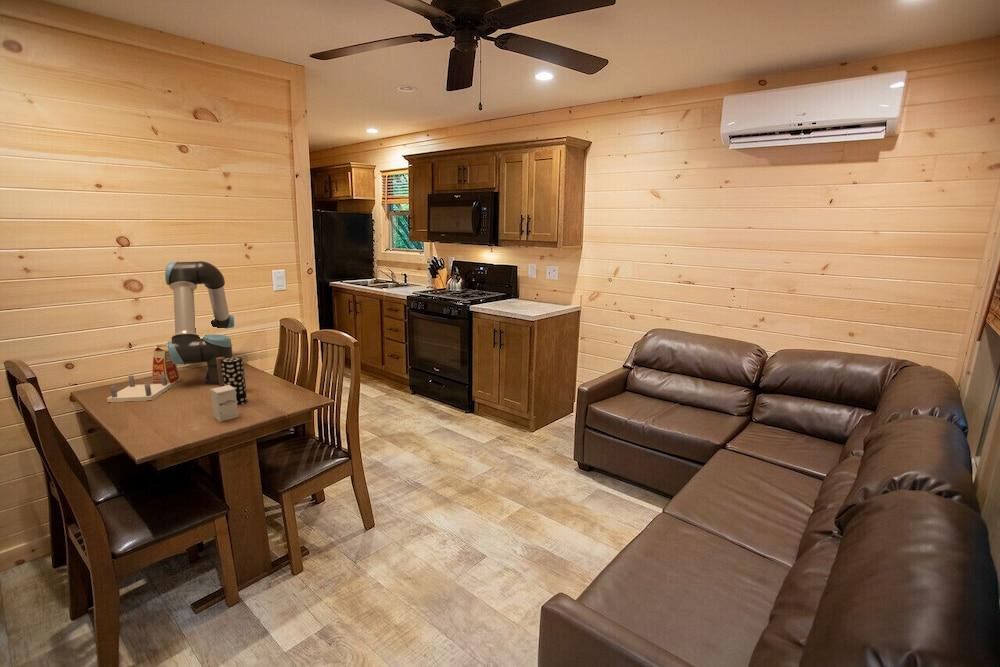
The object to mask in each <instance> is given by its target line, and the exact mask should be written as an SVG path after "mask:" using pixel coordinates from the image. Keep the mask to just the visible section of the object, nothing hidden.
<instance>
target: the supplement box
mask: <svg viewBox="0 0 1000 667" xmlns="http://www.w3.org/2000/svg"><path fill="white" fill-rule="evenodd" d="M209 391H210V397H211V404H212V405H211V406H212V412H213V418H215V419H216V420H217V421H218V422H220V423H222V422H225V421H228V420H232V419H235V418H236V419H237V418H239V410H238V405H237V399H236V390H235V388H233V387H232V386H230V385H227V386H222V387H220V386H219V387H213V388H210V390H209Z"/></svg>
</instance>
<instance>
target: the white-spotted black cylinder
mask: <svg viewBox="0 0 1000 667" xmlns="http://www.w3.org/2000/svg"><path fill="white" fill-rule="evenodd" d="M220 362H221V370H222V377H223V385H224V386H227V385H230V386H232V387H233V388H235V390H236V399H237V406H242V405H244V404H246V403H247V402H248V398H247V387H246V388H245V383H246V379H245V380H244V374H245V371H244V372H243V366H244V362H243V358H242V357H240V356H233V357H229V358H225V359H222V360H221V361H220Z"/></svg>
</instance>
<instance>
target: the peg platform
mask: <svg viewBox="0 0 1000 667" xmlns="http://www.w3.org/2000/svg"><path fill="white" fill-rule="evenodd" d="M161 381H162V384H152V383H145V384H136V382H135V376H134V375H128V383H129V385H128V386H126V387H124V388H122V389H121V390H118V391H117V386H116V385H115V384H113V385H109V388H110V389H109V390H110V394H111V395H110V396H108V397H106V400H107V403H108V402H111V403H126V402H125V401H135V402H148V401H147V400H152V401H154V400H155V399H157V398H159V397H160V396H162V395H163V394H164V393H166V392H167V391H169V390H170V389H172V388H171V387H173V384H171V383H169V384H167V380H166V374H163V375H161ZM169 388H170V389H169ZM168 389H169V390H168ZM165 391H166V392H165ZM163 392H164V393H163ZM162 393H163V394H162ZM159 395H160V396H159ZM156 397H157V398H156ZM153 399H154V400H153Z"/></svg>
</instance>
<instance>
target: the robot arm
mask: <svg viewBox="0 0 1000 667" xmlns="http://www.w3.org/2000/svg"><path fill="white" fill-rule="evenodd" d="M164 276H165V278H164V279H165V284H166V285H167V286H169V288H170V289H171V290H172V291H173V308H174V309H173V310H174V312H173V313H174V314H173V316H174V332H175V333H174V334H173V335H172V336H171V340H169V341H167V347H168V351H169V355H170V358H171V360H172V362H173V363H174V364H176V365H177V366H178V365H190V364H199V363H206V367H207V369H206V373H205V376H204V380H205V384H207V385H209V386H210V385H211V386H220V385H219V378H218V370H217V363H216V358H218V357H225V358H229V357H234V354H233V344H232V340H231V338H230V336H228V335H224V334H215V333H213V334H208V335H205V336H204V337H203V339H200V337H199V335H197V334H196V328H195V314H196V310H195V309H196V308H195V290H197V288H198V285H203V284H204V287H205V288H206V289H207V292H208V296H209V300H210V304H211V309H212V312H213V314H212V315H213V316H214V317H215V319H214V320H212V321H211V324H212V326H213V327H217V328H225V329H230V328H231V329H232V328H235V324H234V323H235V317H234V315H233V314H230V313H229V308H228V302H227V299H226V298H227V297H226V294H225V293H226V292H225V287H224V286H225V285H226V283H225V282H226V281H225V278H224V275H223V274H222V272H221V271H220V270H219V269H218V267H216V266H215V265H214V264H212V263H209V262H207V261H202V260H201V261H200V260H199V261H176V262H175V261H173V262H172V261H171V262H168V263H167V265H166V267H165V272H164Z"/></svg>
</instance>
